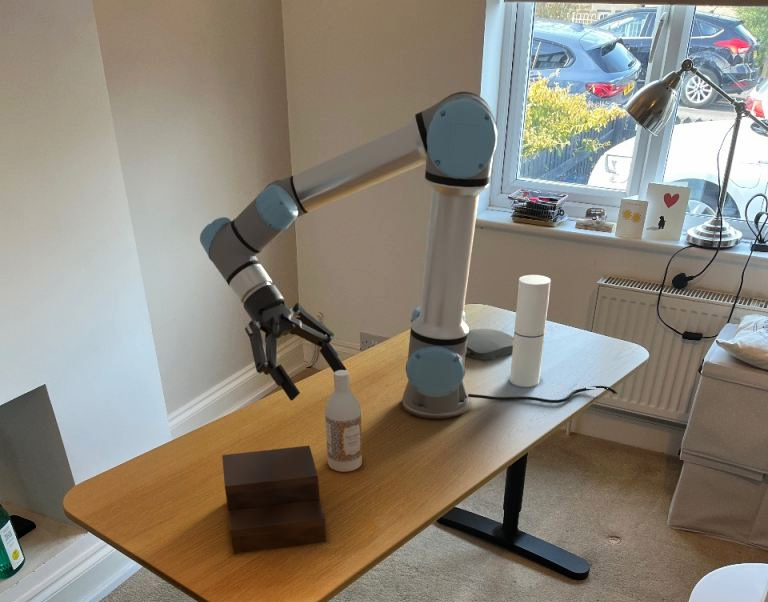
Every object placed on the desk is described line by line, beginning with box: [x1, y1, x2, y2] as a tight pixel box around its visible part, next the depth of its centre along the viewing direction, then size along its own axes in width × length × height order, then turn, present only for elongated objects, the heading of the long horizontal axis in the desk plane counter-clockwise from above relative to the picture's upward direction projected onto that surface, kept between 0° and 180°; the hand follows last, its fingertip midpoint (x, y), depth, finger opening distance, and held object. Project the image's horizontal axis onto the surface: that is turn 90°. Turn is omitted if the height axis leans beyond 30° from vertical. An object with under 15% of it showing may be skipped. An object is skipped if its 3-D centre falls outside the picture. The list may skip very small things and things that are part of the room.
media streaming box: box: [465, 328, 514, 361], centre depth 205 cm, size 15×15×3 cm
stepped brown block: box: [221, 445, 327, 555], centre depth 136 cm, size 16×17×10 cm
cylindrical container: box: [509, 274, 552, 388], centre depth 181 cm, size 7×7×25 cm
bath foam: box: [324, 370, 363, 473], centre depth 150 cm, size 7×7×20 cm
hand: (319, 385), depth 149 cm, fingers open, 13 cm apart
